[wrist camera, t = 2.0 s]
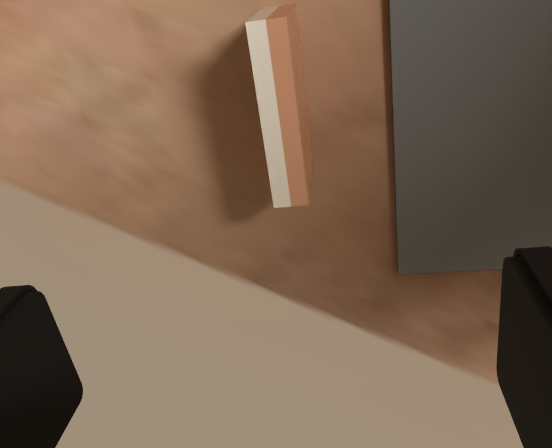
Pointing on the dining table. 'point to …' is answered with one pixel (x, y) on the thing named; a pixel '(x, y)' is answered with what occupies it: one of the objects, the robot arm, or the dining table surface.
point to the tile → (282, 103)
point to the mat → (471, 131)
